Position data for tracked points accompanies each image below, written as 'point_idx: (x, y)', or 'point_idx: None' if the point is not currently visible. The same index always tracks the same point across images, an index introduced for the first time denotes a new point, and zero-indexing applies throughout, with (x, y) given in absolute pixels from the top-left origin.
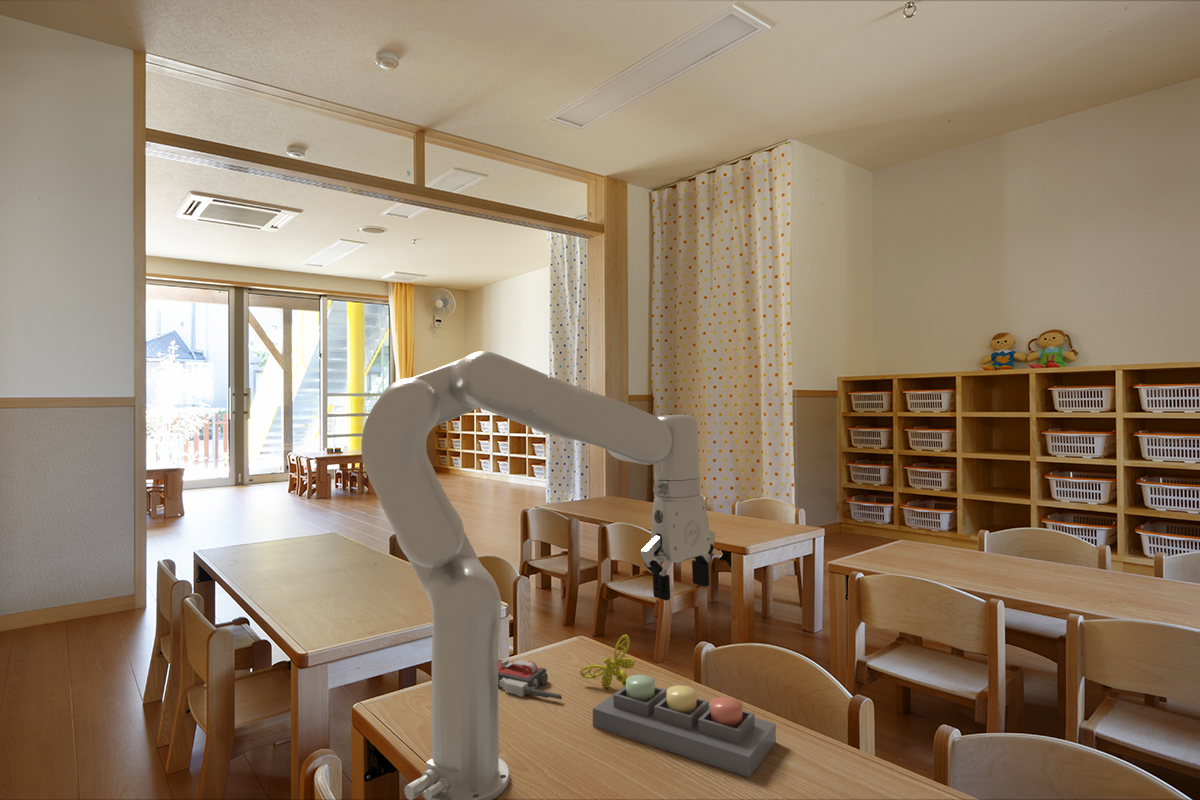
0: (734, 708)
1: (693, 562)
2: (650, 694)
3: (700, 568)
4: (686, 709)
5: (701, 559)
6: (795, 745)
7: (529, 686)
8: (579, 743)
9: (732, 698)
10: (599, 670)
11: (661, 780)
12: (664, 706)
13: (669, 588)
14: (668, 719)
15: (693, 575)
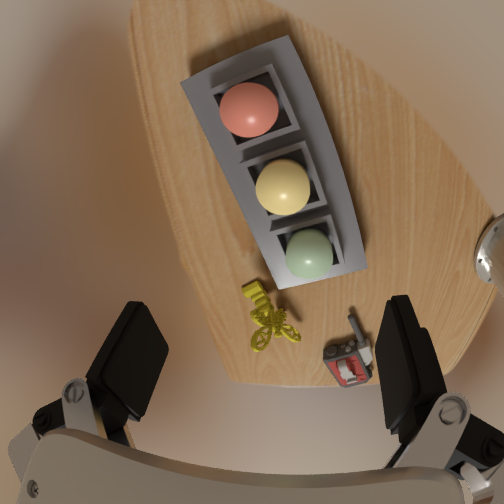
0: (248, 89)
1: (139, 413)
2: (308, 231)
3: (128, 377)
4: (294, 162)
5: (106, 408)
6: (175, 65)
7: (356, 346)
8: (402, 235)
9: (223, 119)
10: (286, 329)
11: (389, 109)
12: None
13: (409, 333)
14: (318, 175)
15: (158, 370)
